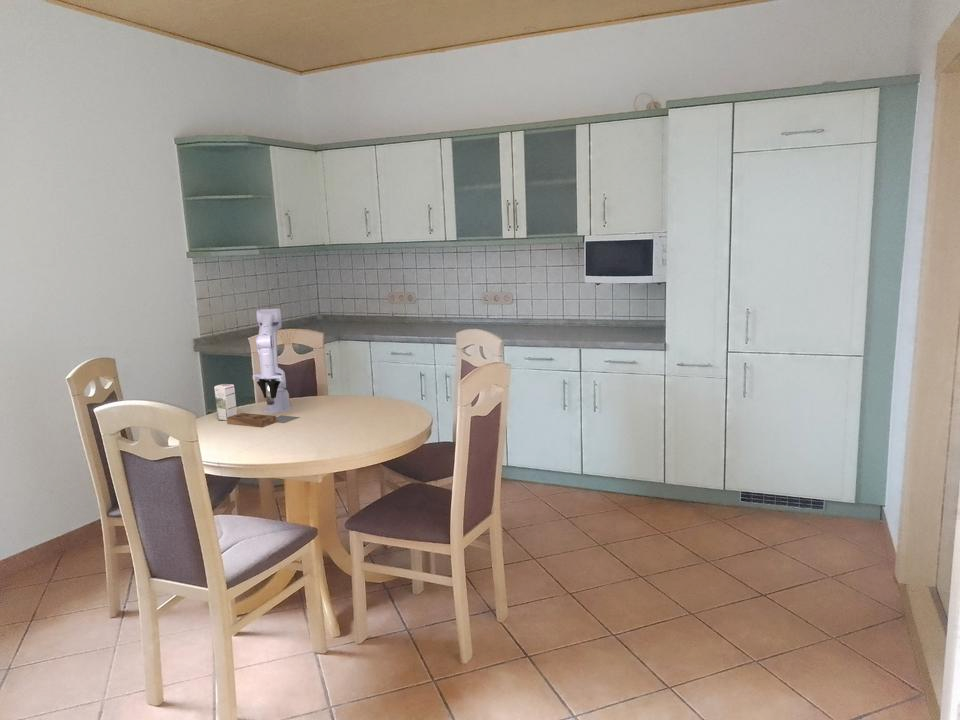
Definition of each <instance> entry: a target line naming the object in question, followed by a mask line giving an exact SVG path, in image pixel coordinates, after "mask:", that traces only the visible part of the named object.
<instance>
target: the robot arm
mask: <svg viewBox="0 0 960 720" xmlns="http://www.w3.org/2000/svg"><path fill="white" fill-rule="evenodd" d="M256 321H257V324H258V328H259V329H258V336H256V337H255V345H256V349H257V354H258V359H259V370H260V373H259V374H258V373H256V374H253V375H252V380H253V381H255V380H258V381H256V384H257V386H259V389H260V390H261V393H262V394H263V395H262V396H263V398H264V399H266V388H265V382H267V384H268V386H269V389H270V395H271V399H273V398H274V401H275V404H273V405H267V404H266V409H264V410H262V412H263V413H271V414H279V413H281V412H282V413H283V412H285V411H287V410H290V409H292V406H291V403H290V394H289V391H288V390H287V389H286V388H287V379H286V372H285V371H284V370H283V368H280V367H279V359H278V342H277V341H278V340H277V339H278V337H277V335H278V330H280V329H282V326H283V324H282V311H281V308H279V307H278V308H262V309H260V308H258V309H257V310H256Z"/></svg>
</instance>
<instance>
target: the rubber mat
mask: <svg viewBox="0 0 960 720" xmlns="http://www.w3.org/2000/svg"><path fill="white" fill-rule="evenodd" d="M299 418H301V416H300V417H299V416H292V415H291V416H290V415H279V416H276V423H275V424H286V423H289V422H291V421H295V420H298V419H299Z"/></svg>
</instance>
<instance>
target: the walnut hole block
mask: <svg viewBox="0 0 960 720" xmlns="http://www.w3.org/2000/svg"><path fill="white" fill-rule="evenodd" d="M276 417H277V416H276V415H272V414H271V415H270V414H259V413H248V412H246V413H245V412H240V413H237V414H236V415H233V416H230V417H227V421H226V422H227V425H232V426H233V425H234V426H242V427H243V426H244V427H252V428H262V429H263V428H265V427H268V426H271V425H274V424H277V423H276Z"/></svg>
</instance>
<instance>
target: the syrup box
mask: <svg viewBox="0 0 960 720" xmlns="http://www.w3.org/2000/svg"><path fill="white" fill-rule="evenodd" d="M213 389H214V397H215V405H216V415H217V421H221V422H223V421H224V422H227V417H230V416H233V415H236V414H238V410H237V409H238V408H237V401H236V400H237V399H236V393H235V392H236V390H235V385H234V384H231V383H230V384H228V383H221V384H217V385H215V386H214V387H213Z"/></svg>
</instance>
